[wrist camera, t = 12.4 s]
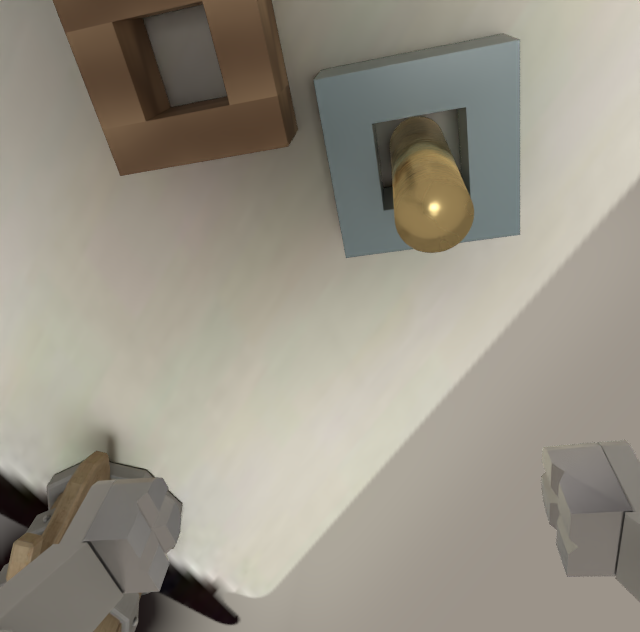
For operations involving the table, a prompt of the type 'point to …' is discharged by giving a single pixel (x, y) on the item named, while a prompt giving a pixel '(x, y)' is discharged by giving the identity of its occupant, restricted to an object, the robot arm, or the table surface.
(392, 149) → the brass peg
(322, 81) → the slate socket block
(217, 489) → the table surface
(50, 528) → the tankard
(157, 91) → the walnut mount
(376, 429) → the table surface
